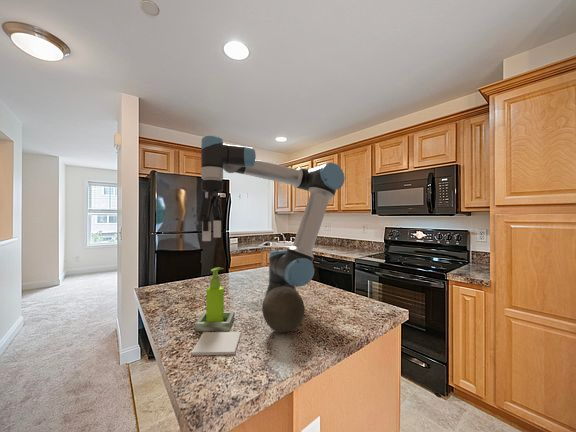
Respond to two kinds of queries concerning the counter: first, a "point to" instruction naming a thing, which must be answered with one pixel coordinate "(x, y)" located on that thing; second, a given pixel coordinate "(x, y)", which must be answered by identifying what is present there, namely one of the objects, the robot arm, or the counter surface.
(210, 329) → the frame
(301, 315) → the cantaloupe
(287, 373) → the counter surface
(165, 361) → the counter surface
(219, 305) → the soap dispenser
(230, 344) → the mat
